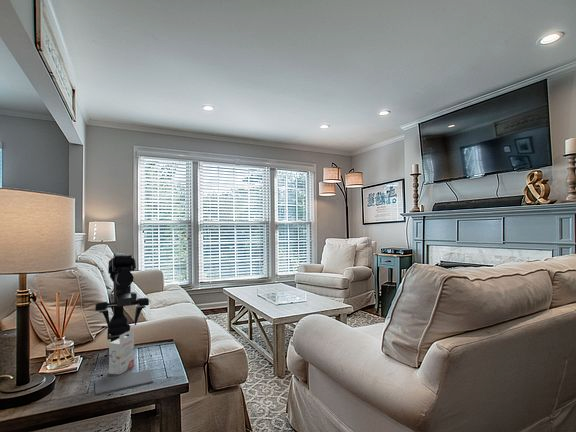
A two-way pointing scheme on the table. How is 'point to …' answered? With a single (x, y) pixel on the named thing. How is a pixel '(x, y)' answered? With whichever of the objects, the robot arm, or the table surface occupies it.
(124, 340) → the ink cartridge box
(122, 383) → the charcoal mat
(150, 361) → the table surface
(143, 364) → the table surface
